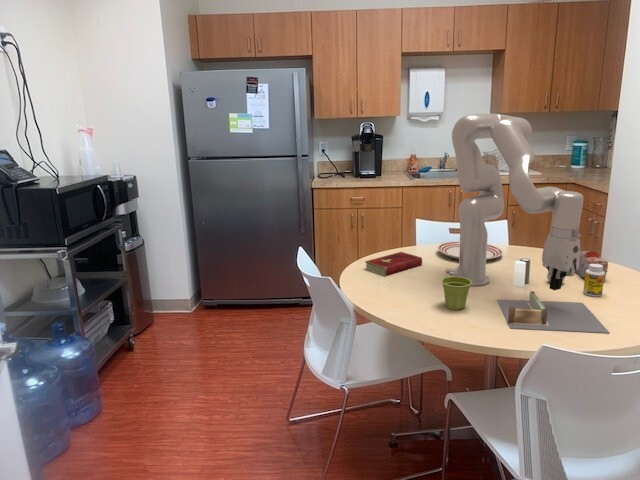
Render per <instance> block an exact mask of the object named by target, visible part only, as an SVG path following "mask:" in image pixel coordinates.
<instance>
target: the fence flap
mask: <svg viewBox="0 0 640 480" xmlns="http://www.w3.org/2000/svg"><path fill="white" fill-rule="evenodd" d="M528 301H529V303H530V305H531V306H532V308H533V309H534V310H541V321H542V315H543V309H544V308H545V307H544V306H543V304H542V303H541V301H542V300H540V299H539V297H538V296H537V294H536V293H535V291H530V292H529V299H528Z"/></svg>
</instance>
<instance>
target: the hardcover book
mask: <svg viewBox="0 0 640 480" xmlns="http://www.w3.org/2000/svg"><path fill="white" fill-rule="evenodd" d="M364 263H365V270H366V271H369V272H372V273H375V274H378V275H381V276H384V277H388V276H391V275H395V274H398V273H402V272H405V271H408V269H409V270H412V269H415V268H418V266H419V267H422V266H423V257H421V256H419V255H414V254H411V253H407V252H404V251H398V252H395V253H392V254H388V255H383V256H379V257H376V258H372V259H369V260H365V261H364Z"/></svg>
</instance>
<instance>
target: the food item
mask: <svg viewBox="0 0 640 480" xmlns="http://www.w3.org/2000/svg"><path fill="white" fill-rule="evenodd" d="M589 264H600V265H602V266H603V270H602V271H604V273H605V276H604V282H606V278H607V273H608V267H609V261H607V260H605V259H604V258H601V255H600V254H599V252H597V251H593V250H591V251H589V250H588V251H586V250H582V251H581V250H580V261H579V268H578V270H574V272H575V273H577V274H578V276H579V278H583V279H585V273H586V270H587V269H589Z"/></svg>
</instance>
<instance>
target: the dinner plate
mask: <svg viewBox="0 0 640 480" xmlns="http://www.w3.org/2000/svg"><path fill="white" fill-rule="evenodd" d="M437 250H438V251H439V252H440V253H441V254H443V255H445V256H447V257H450V258H452V259H455V260H458V261H459V253H460V240H458V241H447V242H443V243H440V244H439V245H438V246H437ZM503 254H504V251H503V250H502V249H501V248H499V247H498V246H496V245H492V244H489V243H487V256H486V261H487V260H491V259H495V258H498V257H501V256H502V255H503Z"/></svg>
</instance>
